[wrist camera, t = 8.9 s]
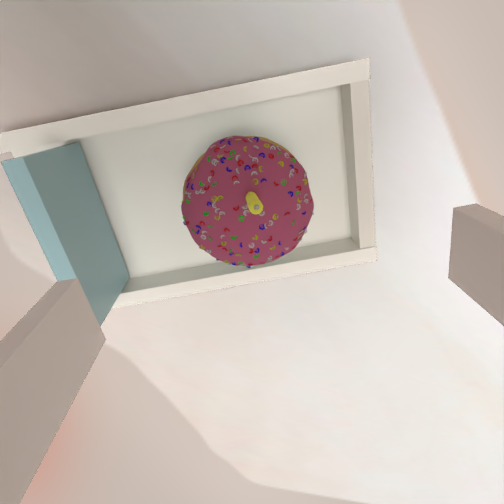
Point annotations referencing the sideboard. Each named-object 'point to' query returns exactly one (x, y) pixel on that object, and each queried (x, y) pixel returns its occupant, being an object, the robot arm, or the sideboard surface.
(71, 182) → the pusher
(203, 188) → the cupcake
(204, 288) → the white shallow tray
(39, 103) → the sideboard surface
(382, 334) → the sideboard surface
